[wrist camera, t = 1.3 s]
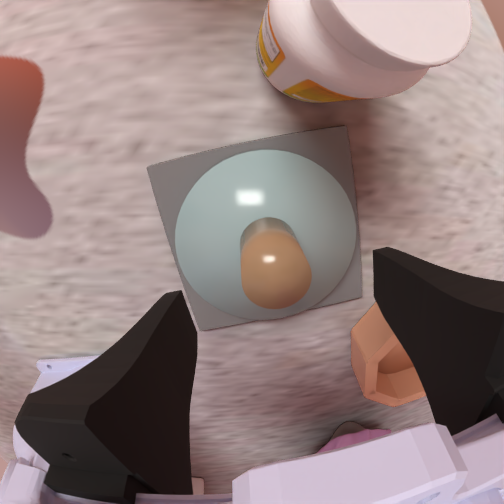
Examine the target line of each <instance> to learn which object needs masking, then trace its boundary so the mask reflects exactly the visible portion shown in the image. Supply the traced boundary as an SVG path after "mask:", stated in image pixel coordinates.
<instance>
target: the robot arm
mask: <svg viewBox="0 0 504 504" xmlns="http://www.w3.org/2000/svg"><path fill="white" fill-rule="evenodd" d="M373 272H374V298H375V300H376V302H377V304H378V307H379V309H380V311H381V313H382V315H383V317H384V318H385V320H386V322H387V323H388V325H389V326H390V328H391V329H392V331H393V333H394V334H395V336H396V337H397V339H398V340H399V342H400V343H401V345H402V347H403V348H404V350H405V351H406V353H407V355H408V356H409V358H410V360H411V362H412V363H413V365H414V367H415V370H416V372H417V374H418V376H419V379H420V381H421V383H422V386H423V388H424V391H425V393H426V396H427V398H428V401H429V404H430V407H431V410H432V413H433V416H434V419H435V422H436V423H429V422H428V423H424V424H420V425H415V426H411V427H407V428H404V429H401V430H398V431H395V432H392V433H389V434H386V435H383V436H380V437H377V438H374V439H370V440H367V441H364V442H360V443H357V444H353V445H349V446H346V447H342V448H338V449H334V450H330V451H325V452H321V453H316V454H312V455H307V456H302V457H297V458H291V459H286V460H280V461H276V462H272V463H268V464H264V465H260V466H256V467H252V468H251V469H249V470H248V471H246V472H245V473H243V474H241V475H240V476H238V477H237V478H235V479H234V480H233V481H232V493H226V494H207V495H193V487H192V477H191V463H190V440H189V413H190V402H191V395H192V388H193V381H194V375H195V368H196V361H197V331H196V328H195V326H194V323H193V320H192V318H191V315H190V312H189V310H188V307H187V304H186V302H185V299H184V296H183V293H182V291H181V290H180V291H174V292H169V293H166V294H164V295H163V296H162V297H161V298H160V299H159V300H158V301H157V302H156V303H155V304H154V305H153V306H152V307H151V309H150V310H149V311H148V312H147V313H146V314H145V315H144V316H143V317H142V318H141V319H140V320H139V321H138V322H137V323H136V324H135V325H134V326H133V327H132V328H131V329H130V330H129V331H128V332H127V333H126V334H125V335H124V336H123V337H122V338H121V339H120V340H119V341H118V342H116V343H115V344H114V345H113V346H112V347H110V348H109V349H108V350H107V351H105V352H104V353H103V354H102V355H98V356H87V357H75V358H62V359H47V360H38V362H37V363H36V366H37V368H38V369H39V370H40V372H41V374H40V376H39V378H38V379H37V381H36V383H35V385H34V387H33V389H32V390H31V392H30V394H28V396H27V398H26V400H25V402H24V404H23V406H22V408H21V410H20V412H19V414H18V416H17V418H16V420H15V425H14V429H13V446H14V450H15V454H16V456H17V458H18V459H11V460H10V462H9V464H8V466H7V468H6V470H5V473H4V475H3V478H2V480H1V483H0V504H504V282H503V281H496V280H489V279H483V278H478V277H474V276H470V275H466V274H462V273H458V272H455V271H452V270H449V269H446V268H443V267H440V266H437V265H435V264H432V263H429V262H427V261H424V260H422V259H419V258H417V257H414V256H412V255H409V254H407V253H404V252H402V251H399V250H396V249H393V248H390V247H385V248H381V249H376V250H373Z"/></svg>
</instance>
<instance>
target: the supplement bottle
mask: <svg viewBox="0 0 504 504" xmlns="http://www.w3.org/2000/svg"><path fill="white" fill-rule="evenodd" d="M471 28H472V14H471V7H470V3H469V0H269V1H268V4H267V7H266V10H265V13H264V16H263V19H262V22H261V26H260V28H259V32H258V36H257V42H256V54H257V59H258V63H259V65H260V68H261V70H262V72H263V74H264V75H265V77H266V78H267V79H268V81H269V82H270V83H271V84H272V85H273V86H274V87H275V88H276V89H278V90H279V91H280V92H282V93H284V94H285V95H287V96H289V97H291V98H294V99H297V100H300V101H304V102H310V103H326V102H334V101H344V100H357V99H373V98H380V97H387V96H391V95H395V94H398V93H401V92H403V91H405V90H407V89H409V88H410V87H412V86H413V85H415V84H416V83H417V82H418V81H420V80H421V78H422V77H423V76H424V75H425V74H426V73H427V71H428V69H429V68H430V67H436V66H440V65H443V64H446V63H448V62H450V61H452V60H454V59H455V58H456V57H458V56H459V54H460V53H461V52H462V51H463V50H464V49H465V47H466V45H467V44H468V41H469V38H470V35H471Z"/></svg>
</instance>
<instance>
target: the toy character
mask: <svg viewBox="0 0 504 504" xmlns="http://www.w3.org/2000/svg"><path fill="white" fill-rule="evenodd" d="M389 433H391V430H390V429H387V430H384V429H373V430H369V429H365V428H363V427H362V426H361V425H359V424H357V423H355V422H345V423H343V424H342V425H341V426H340V427H339V428H338V429H337V430H336V431H335V433H334V434H333V436H332V438H331V440H330V441H329V442H328V443H327V444H326V445H325V446H324V447H322V448H321V449H320V450H319V451H318V452H317V453H321V452H325V451H330V450H334V449H338V448H342V447H346V446H349V445H353V444H357V443H360V442H364V441H367V440H370V439H374V438H377V437H380V436H383V435H386V434H389Z"/></svg>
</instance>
